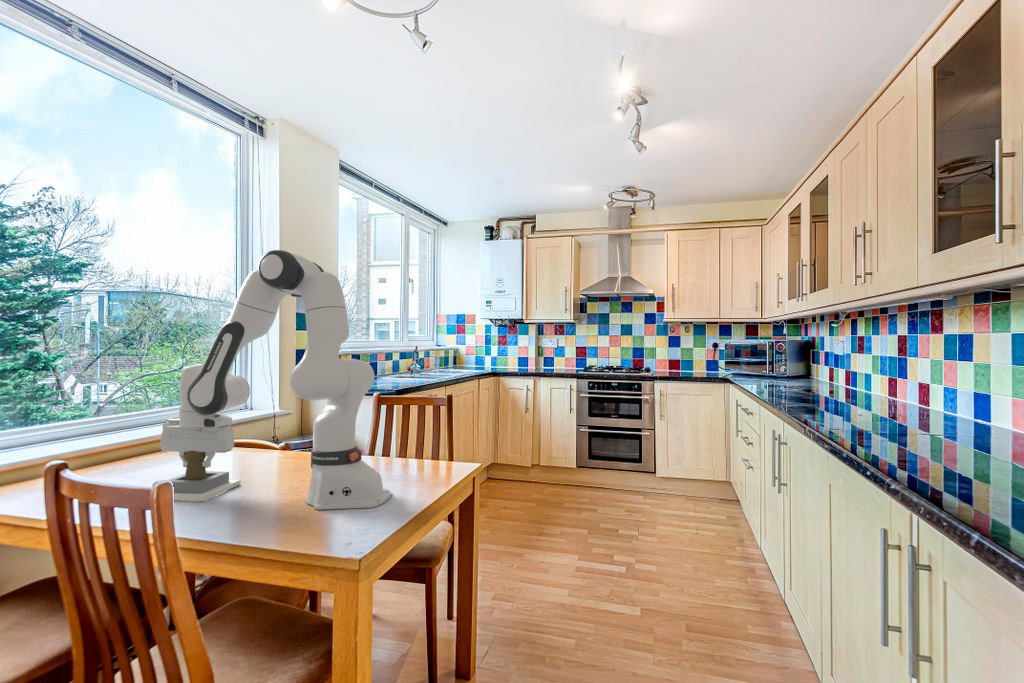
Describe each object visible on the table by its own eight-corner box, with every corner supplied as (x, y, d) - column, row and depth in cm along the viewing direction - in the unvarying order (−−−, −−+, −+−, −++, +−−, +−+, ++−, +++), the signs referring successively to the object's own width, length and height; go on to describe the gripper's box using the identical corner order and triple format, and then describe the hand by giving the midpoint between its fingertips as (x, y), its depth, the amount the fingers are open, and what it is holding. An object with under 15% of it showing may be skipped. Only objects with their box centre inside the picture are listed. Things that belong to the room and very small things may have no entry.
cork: (195, 490, 137) (195, 451, 137) (177, 489, 139) (178, 450, 139) (212, 484, 143) (213, 447, 143) (195, 483, 144) (196, 446, 144)
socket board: (240, 484, 149) (240, 470, 149) (204, 501, 133) (204, 485, 133) (190, 483, 150) (190, 469, 150) (148, 500, 134) (148, 483, 134)
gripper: (154, 420, 139) (154, 469, 139) (223, 421, 138) (223, 470, 137) (171, 417, 145) (171, 463, 145) (237, 418, 144) (237, 465, 144)
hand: (197, 467), depth 141 cm, fingers open, 4 cm apart
